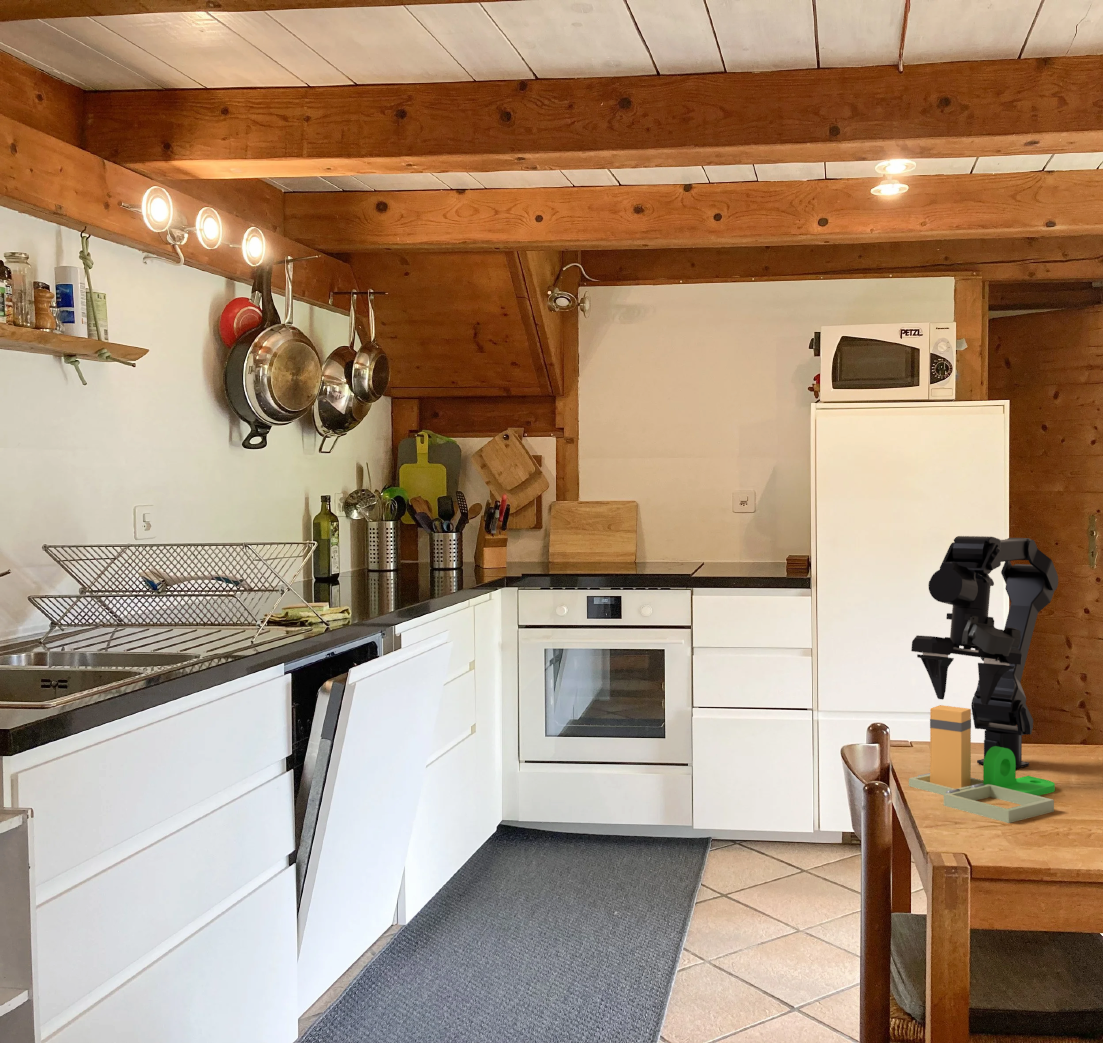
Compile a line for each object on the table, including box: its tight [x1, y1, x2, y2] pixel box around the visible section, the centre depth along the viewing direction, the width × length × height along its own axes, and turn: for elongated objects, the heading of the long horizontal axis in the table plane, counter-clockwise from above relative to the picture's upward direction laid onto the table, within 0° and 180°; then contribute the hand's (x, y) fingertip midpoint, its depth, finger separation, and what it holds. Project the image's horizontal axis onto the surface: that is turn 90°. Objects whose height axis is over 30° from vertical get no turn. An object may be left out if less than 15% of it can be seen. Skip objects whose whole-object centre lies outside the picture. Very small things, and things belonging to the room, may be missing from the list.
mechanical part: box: [982, 746, 1056, 796], centre depth 172 cm, size 12×6×8 cm, turn 123°
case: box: [943, 783, 1055, 824], centre depth 162 cm, size 11×12×3 cm
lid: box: [908, 773, 983, 796], centre depth 174 cm, size 9×9×2 cm
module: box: [929, 704, 972, 789], centre depth 174 cm, size 4×5×13 cm
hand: (962, 701), depth 181 cm, fingers open, 9 cm apart
